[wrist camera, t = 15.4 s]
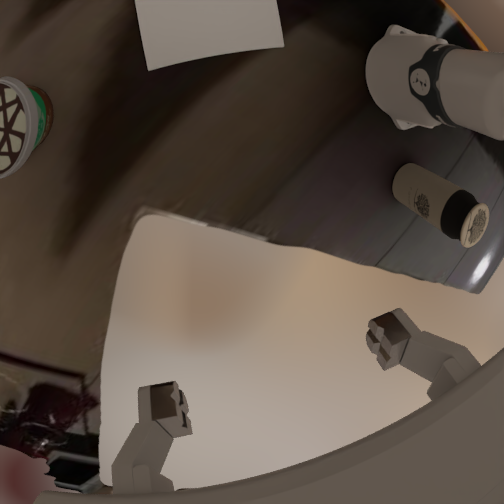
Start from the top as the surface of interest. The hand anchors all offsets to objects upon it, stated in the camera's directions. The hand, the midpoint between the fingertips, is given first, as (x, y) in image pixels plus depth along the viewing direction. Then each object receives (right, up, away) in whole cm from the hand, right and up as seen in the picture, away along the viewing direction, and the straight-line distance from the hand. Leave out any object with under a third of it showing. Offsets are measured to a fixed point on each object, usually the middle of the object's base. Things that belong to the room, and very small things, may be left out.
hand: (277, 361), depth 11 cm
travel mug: (+28, +17, +39) cm, 51 cm away
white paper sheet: (-7, +37, +16) cm, 41 cm away
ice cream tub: (-29, +22, +19) cm, 41 cm away
